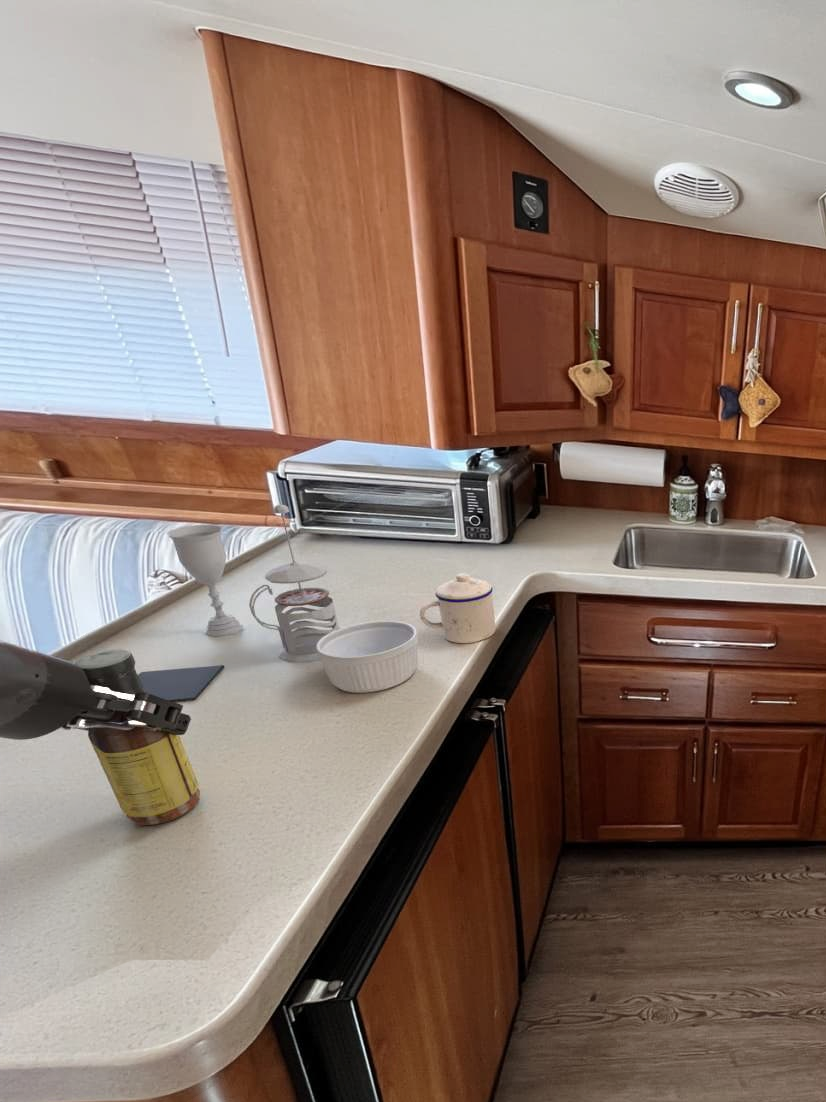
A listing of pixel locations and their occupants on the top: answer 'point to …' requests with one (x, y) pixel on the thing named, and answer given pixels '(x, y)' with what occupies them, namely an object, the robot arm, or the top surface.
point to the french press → (303, 639)
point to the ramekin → (369, 655)
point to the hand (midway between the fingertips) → (149, 725)
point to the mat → (179, 682)
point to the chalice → (205, 568)
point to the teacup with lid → (463, 610)
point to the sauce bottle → (139, 751)
